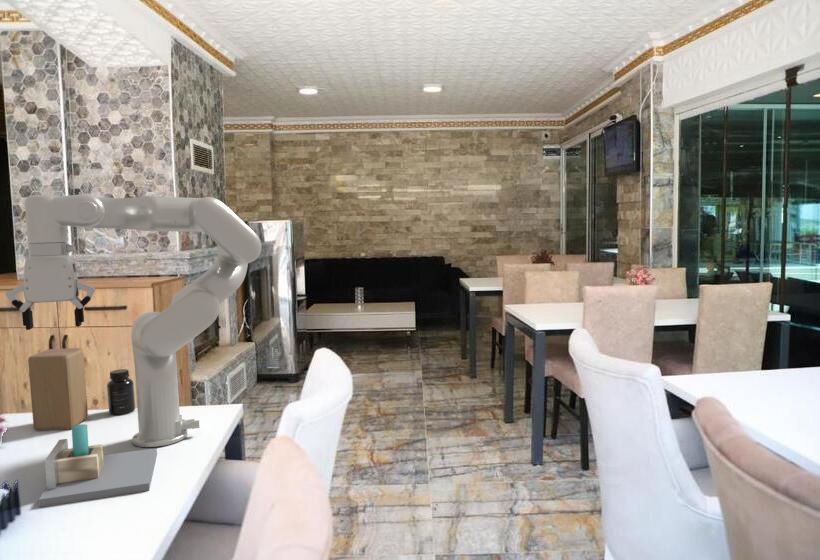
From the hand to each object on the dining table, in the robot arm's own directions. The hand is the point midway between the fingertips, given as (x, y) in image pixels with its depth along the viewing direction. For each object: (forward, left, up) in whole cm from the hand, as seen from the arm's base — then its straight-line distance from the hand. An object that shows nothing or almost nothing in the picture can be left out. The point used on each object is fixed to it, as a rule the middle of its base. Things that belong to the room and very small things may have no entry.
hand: (54, 327), depth 132 cm
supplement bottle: (-8, -33, -31) cm, 46 cm away
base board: (-11, +16, -30) cm, 36 cm away
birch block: (-7, +16, -29) cm, 33 cm away
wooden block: (+6, -27, -31) cm, 41 cm away
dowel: (-7, +16, -29) cm, 34 cm away
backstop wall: (-2, +16, -29) cm, 33 cm away
